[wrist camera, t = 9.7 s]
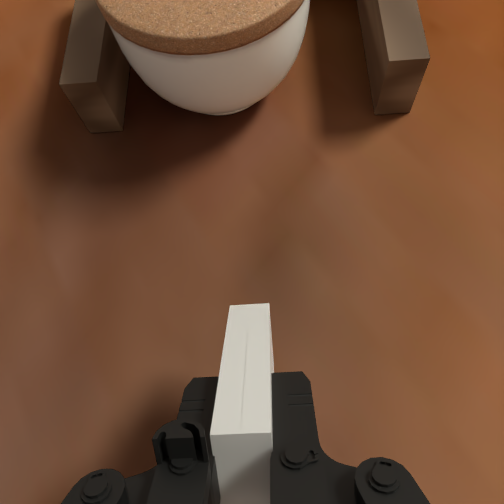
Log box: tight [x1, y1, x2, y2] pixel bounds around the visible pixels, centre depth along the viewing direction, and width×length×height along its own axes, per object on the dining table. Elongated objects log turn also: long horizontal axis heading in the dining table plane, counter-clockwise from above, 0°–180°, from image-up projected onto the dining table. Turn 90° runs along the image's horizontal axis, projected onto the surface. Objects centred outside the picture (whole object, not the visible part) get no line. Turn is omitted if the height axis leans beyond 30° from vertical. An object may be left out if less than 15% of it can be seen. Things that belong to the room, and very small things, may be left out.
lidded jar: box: [95, 0, 310, 116], centre depth 23 cm, size 11×11×9 cm
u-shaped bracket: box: [59, 0, 430, 133], centre depth 27 cm, size 19×12×4 cm, turn 91°
